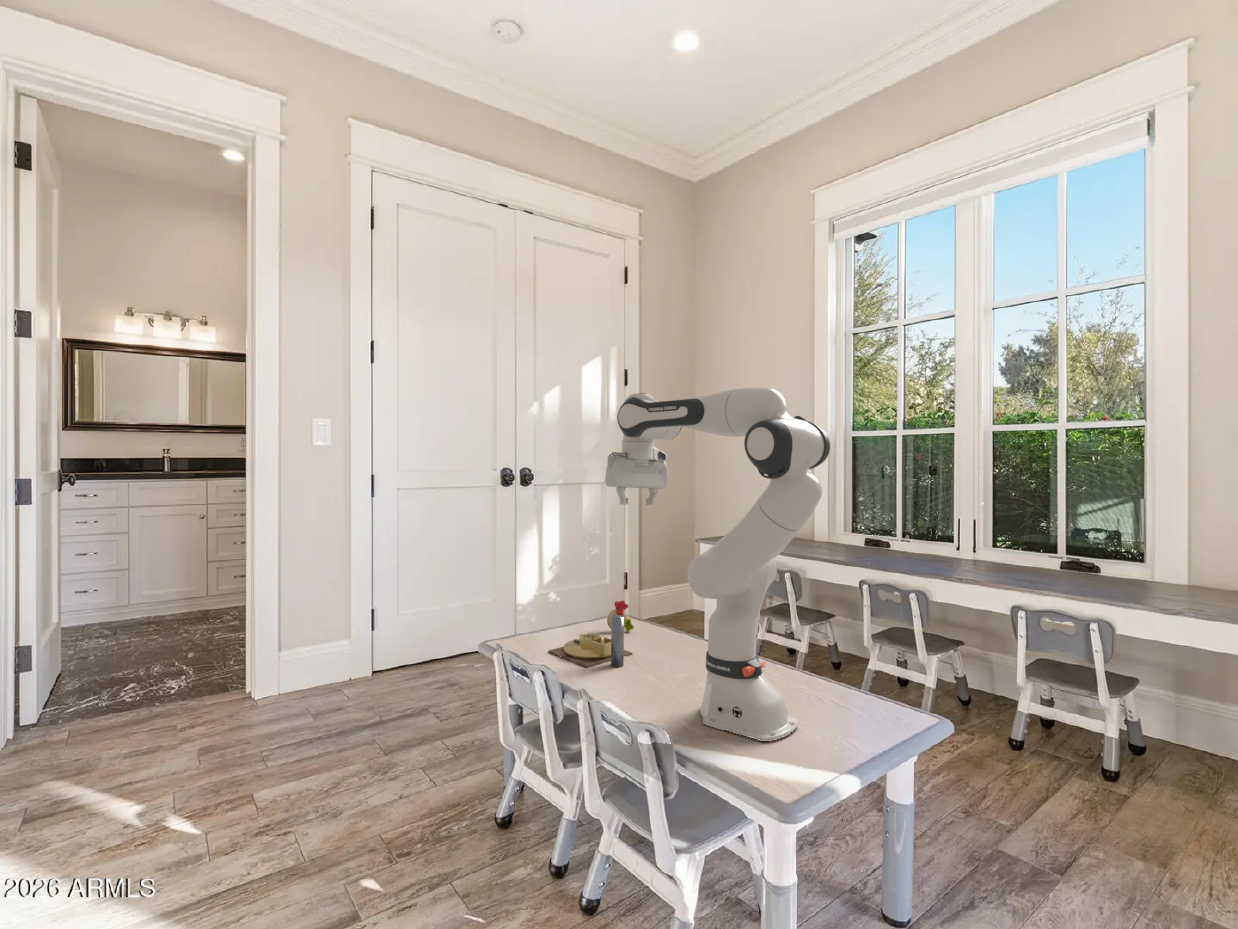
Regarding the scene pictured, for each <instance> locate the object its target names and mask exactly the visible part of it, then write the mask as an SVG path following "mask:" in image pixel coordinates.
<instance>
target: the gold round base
mask: <svg viewBox="0 0 1238 929" xmlns="http://www.w3.org/2000/svg"><path fill="white" fill-rule="evenodd" d="M563 647H564V653H565V654H566V655H568V656H570V657H573V658H577V659H587V660H593V659H603V658H608V657H611V638H609V637H606V636H605V637H603V639H602V637H601V635H600V633H592V632H590V633H587V632H586V633H583V634H579V638H578V639H577V638H575V639H573V640H570V641H567V642H566V643H564V645H563Z"/></svg>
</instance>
